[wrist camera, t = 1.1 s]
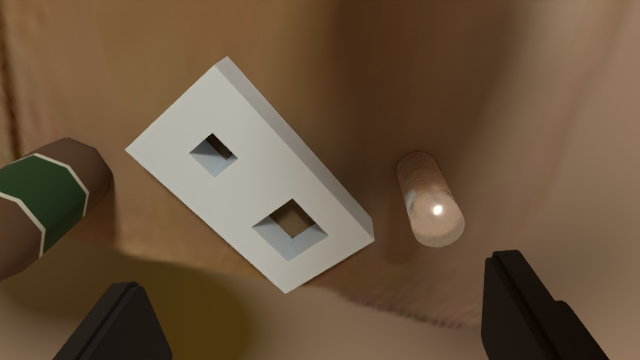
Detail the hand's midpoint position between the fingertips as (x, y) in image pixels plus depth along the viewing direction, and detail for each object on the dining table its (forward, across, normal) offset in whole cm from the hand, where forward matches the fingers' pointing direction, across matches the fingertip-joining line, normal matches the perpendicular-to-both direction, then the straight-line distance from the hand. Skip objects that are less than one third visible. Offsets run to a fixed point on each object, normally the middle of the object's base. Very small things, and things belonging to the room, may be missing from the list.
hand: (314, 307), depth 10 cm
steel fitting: (+28, -8, +9) cm, 30 cm away
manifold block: (+28, +8, +8) cm, 30 cm away
